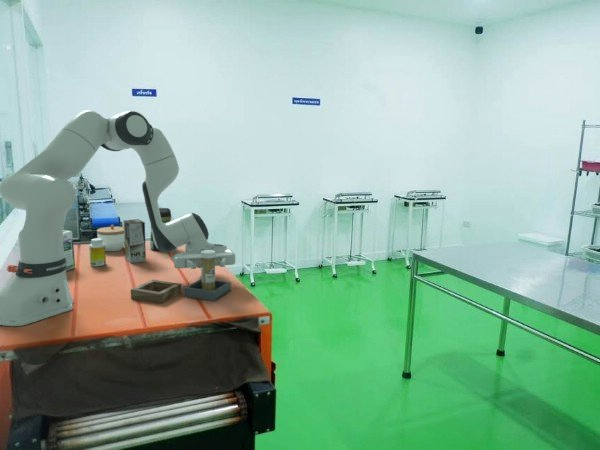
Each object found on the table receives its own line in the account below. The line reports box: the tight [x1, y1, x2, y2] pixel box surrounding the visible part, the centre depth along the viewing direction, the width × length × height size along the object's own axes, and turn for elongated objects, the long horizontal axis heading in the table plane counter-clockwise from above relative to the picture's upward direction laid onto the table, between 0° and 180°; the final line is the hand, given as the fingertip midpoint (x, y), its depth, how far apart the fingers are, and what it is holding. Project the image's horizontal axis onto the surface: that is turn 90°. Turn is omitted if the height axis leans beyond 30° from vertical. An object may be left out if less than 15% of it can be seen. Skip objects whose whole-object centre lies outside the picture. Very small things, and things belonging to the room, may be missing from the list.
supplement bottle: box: [88, 237, 107, 267], centre depth 175 cm, size 6×6×10 cm
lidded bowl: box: [96, 224, 125, 252], centre depth 200 cm, size 13×13×11 cm
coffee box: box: [122, 218, 147, 264], centre depth 183 cm, size 9×6×16 cm
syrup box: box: [63, 229, 76, 272], centre depth 168 cm, size 6×6×14 cm
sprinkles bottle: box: [200, 250, 216, 291], centre depth 147 cm, size 5×5×14 cm
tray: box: [183, 278, 232, 303], centre depth 147 cm, size 11×11×3 cm
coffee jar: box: [148, 207, 172, 251], centre depth 202 cm, size 10×8×19 cm
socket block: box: [130, 279, 182, 304], centre depth 144 cm, size 11×11×3 cm
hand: (208, 265), depth 145 cm, fingers open, 8 cm apart
